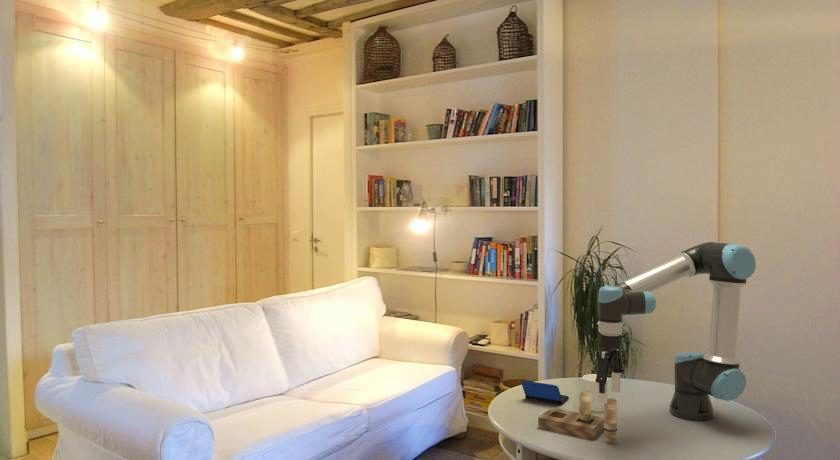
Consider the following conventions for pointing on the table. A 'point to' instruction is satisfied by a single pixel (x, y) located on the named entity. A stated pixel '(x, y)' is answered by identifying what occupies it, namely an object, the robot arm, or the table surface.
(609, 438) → the beech peg
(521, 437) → the table surface
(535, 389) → the handheld game console
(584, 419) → the wooden peg block
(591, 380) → the candle holder
